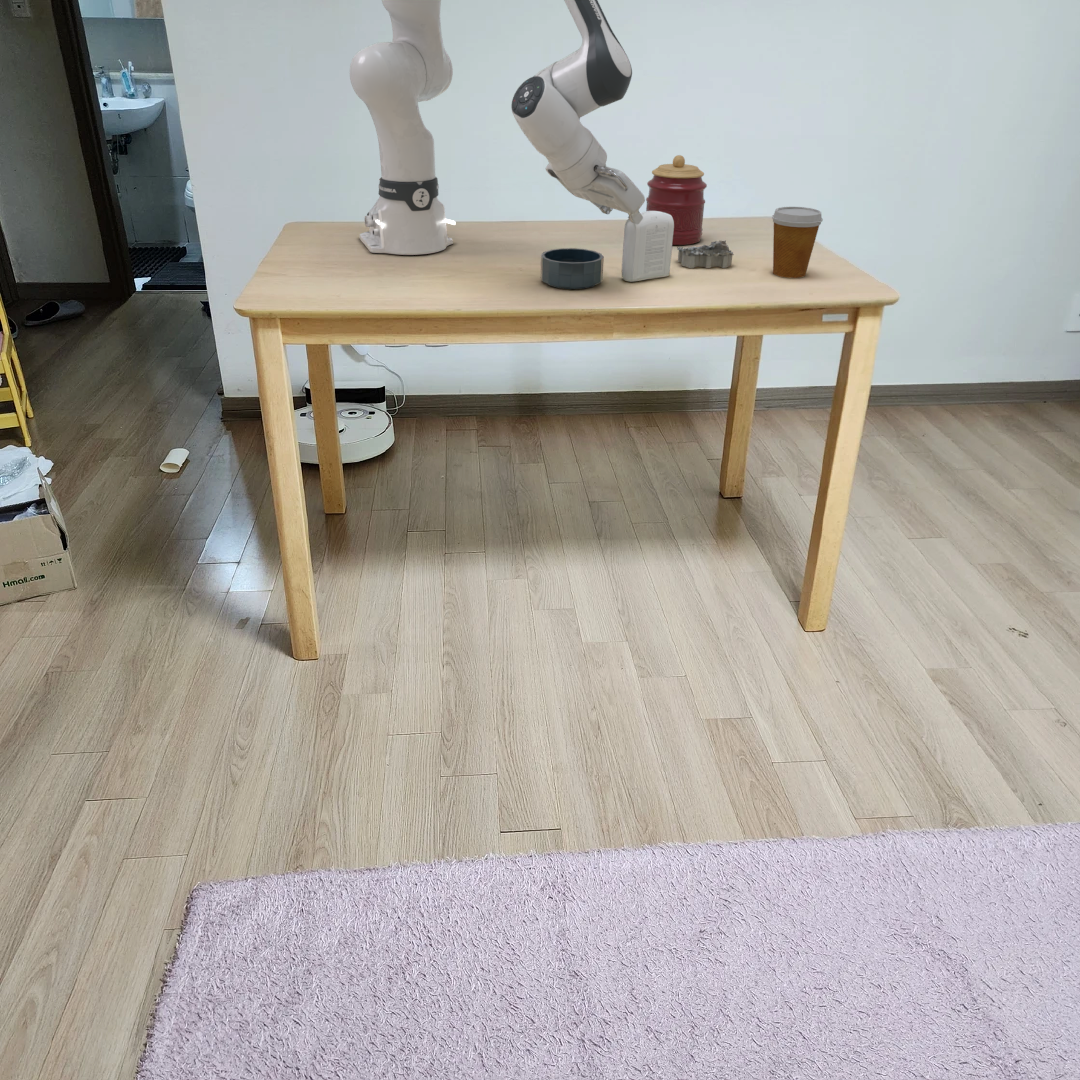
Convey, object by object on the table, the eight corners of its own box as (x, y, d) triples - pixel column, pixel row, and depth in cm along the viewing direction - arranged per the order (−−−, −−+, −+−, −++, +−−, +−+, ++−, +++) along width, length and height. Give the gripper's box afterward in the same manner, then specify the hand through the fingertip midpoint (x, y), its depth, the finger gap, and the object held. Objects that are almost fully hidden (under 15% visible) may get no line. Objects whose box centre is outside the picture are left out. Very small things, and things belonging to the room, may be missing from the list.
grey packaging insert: (725, 260, 195) (728, 239, 193) (733, 269, 188) (736, 248, 186) (675, 259, 194) (676, 239, 192) (681, 268, 188) (683, 247, 186)
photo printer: (658, 272, 185) (663, 206, 179) (673, 276, 182) (678, 210, 176) (617, 278, 180) (621, 212, 174) (631, 284, 177) (635, 216, 171)
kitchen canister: (632, 240, 209) (638, 155, 200) (660, 230, 218) (666, 149, 209) (685, 248, 202) (692, 161, 193) (711, 238, 212) (720, 154, 203)
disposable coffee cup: (815, 270, 188) (825, 208, 182) (811, 282, 180) (821, 217, 174) (767, 266, 190) (776, 204, 184) (761, 277, 183) (769, 213, 176)
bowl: (529, 278, 179) (530, 252, 177) (580, 271, 185) (581, 245, 182) (561, 293, 171) (562, 266, 168) (613, 285, 176) (615, 258, 173)
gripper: (626, 156, 155) (668, 212, 165) (561, 140, 170) (603, 192, 180) (603, 187, 156) (646, 241, 165) (540, 168, 171) (582, 219, 180)
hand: (623, 215), depth 173 cm, fingers open, 8 cm apart
